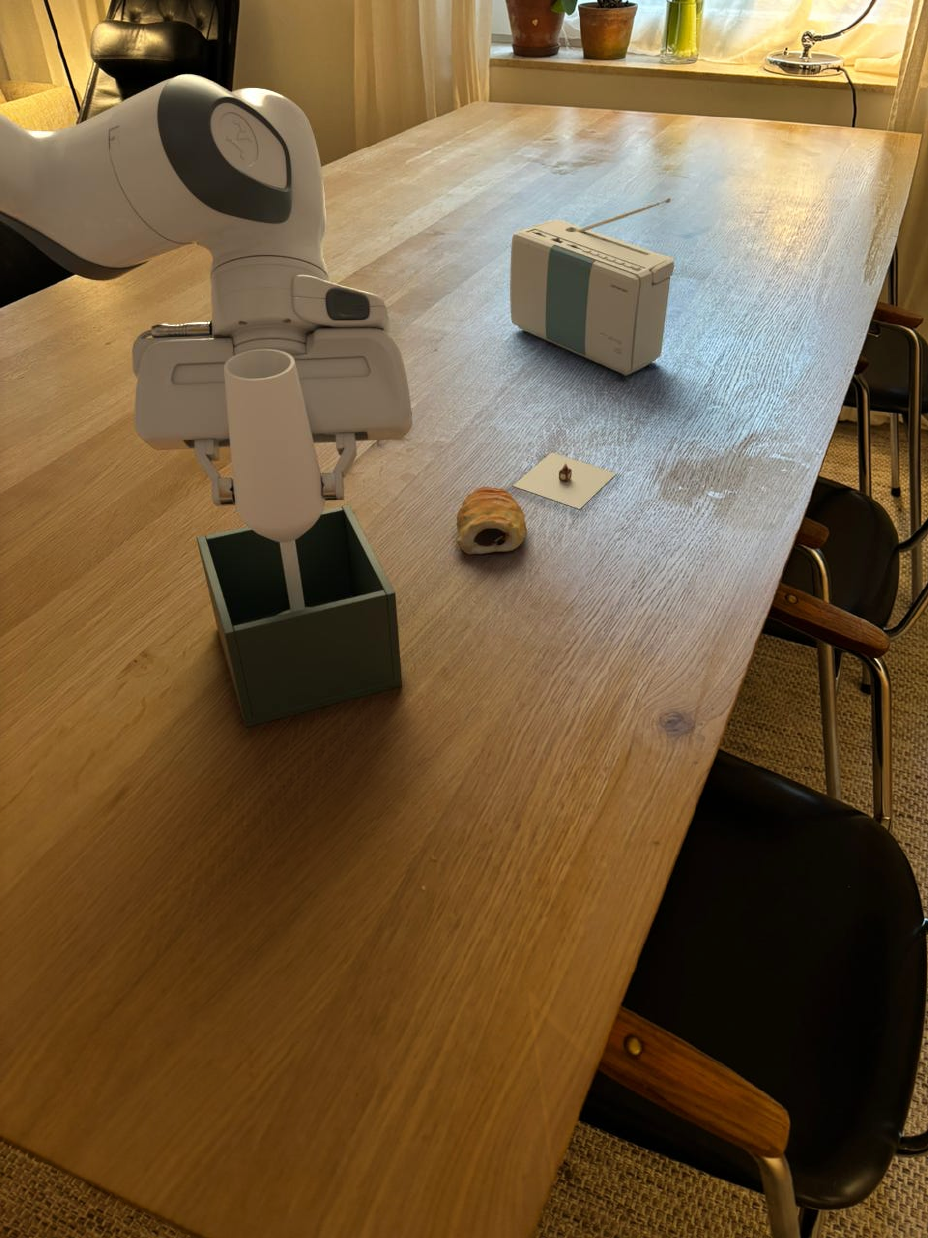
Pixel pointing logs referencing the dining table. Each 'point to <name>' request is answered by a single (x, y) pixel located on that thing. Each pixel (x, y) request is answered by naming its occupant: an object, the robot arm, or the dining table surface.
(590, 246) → the radio
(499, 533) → the pastry
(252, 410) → the champagne flute
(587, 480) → the beige flat slab
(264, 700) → the bin
